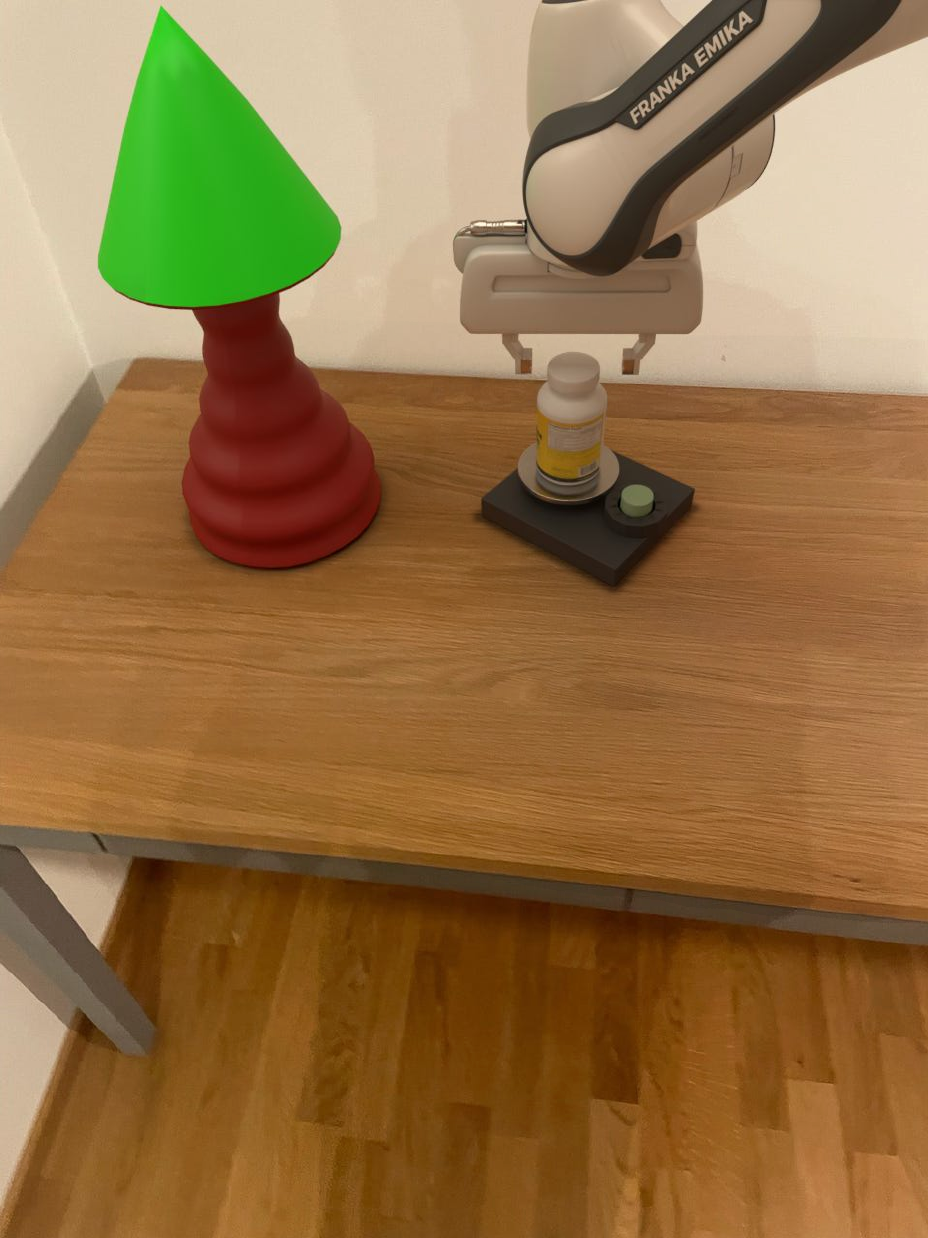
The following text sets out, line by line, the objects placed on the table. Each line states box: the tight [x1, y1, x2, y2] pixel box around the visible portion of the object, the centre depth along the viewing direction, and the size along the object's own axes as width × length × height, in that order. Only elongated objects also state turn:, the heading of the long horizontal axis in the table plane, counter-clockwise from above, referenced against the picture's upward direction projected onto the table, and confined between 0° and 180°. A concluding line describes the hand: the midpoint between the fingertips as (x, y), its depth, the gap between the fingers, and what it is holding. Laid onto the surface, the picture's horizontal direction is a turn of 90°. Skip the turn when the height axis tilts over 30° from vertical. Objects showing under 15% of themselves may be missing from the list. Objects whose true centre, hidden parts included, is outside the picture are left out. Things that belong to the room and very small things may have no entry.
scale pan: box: [517, 441, 619, 505], centre depth 91 cm, size 10×10×1 cm
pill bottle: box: [535, 351, 608, 485], centre depth 87 cm, size 6×6×12 cm
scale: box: [480, 449, 696, 587], centre depth 92 cm, size 16×14×4 cm
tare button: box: [620, 485, 654, 517], centre depth 88 cm, size 3×3×2 cm
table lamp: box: [97, 5, 382, 569], centre depth 79 cm, size 20×20×45 cm
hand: (576, 370), depth 83 cm, fingers open, 8 cm apart
